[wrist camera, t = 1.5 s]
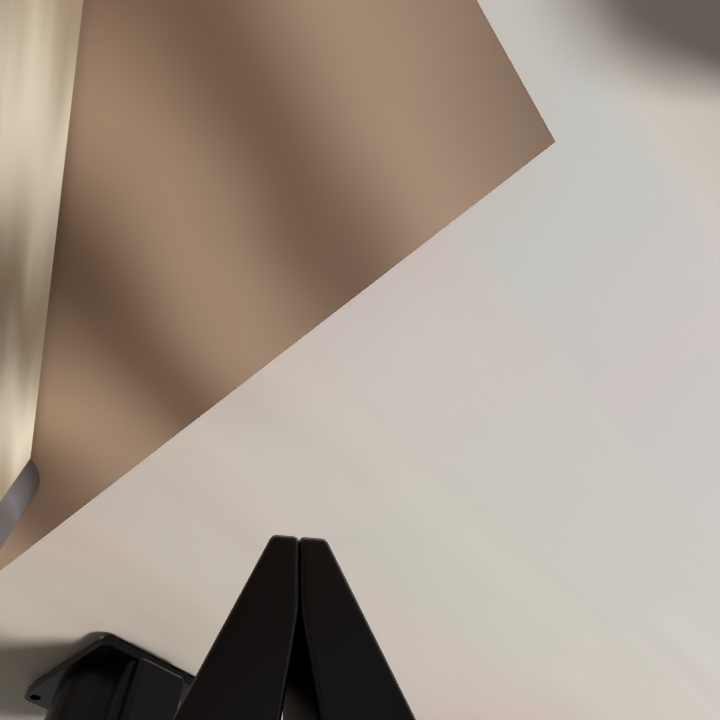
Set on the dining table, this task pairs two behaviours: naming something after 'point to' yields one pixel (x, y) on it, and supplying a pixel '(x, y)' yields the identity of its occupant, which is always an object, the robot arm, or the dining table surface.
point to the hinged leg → (29, 217)
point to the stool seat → (244, 201)
